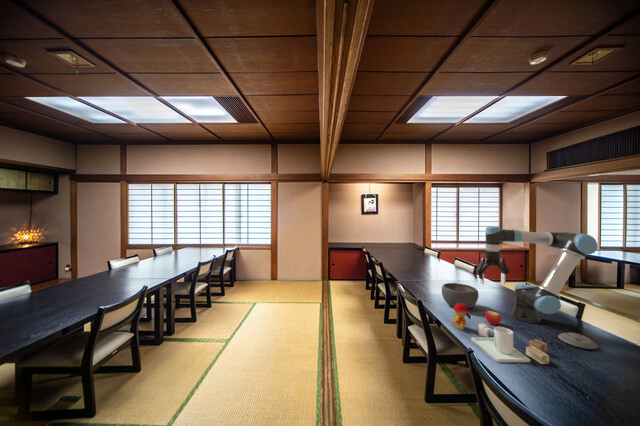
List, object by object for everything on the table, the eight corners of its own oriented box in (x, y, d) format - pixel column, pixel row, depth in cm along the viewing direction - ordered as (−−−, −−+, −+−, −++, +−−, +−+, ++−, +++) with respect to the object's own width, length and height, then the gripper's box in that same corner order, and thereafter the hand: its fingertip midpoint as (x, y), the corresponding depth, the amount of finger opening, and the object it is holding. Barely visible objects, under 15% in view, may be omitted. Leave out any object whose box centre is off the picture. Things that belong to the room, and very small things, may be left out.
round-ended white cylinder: (484, 332, 144) (484, 322, 144) (490, 337, 139) (490, 326, 139) (476, 332, 144) (476, 322, 144) (481, 337, 139) (481, 326, 139)
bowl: (478, 304, 189) (478, 285, 189) (478, 315, 168) (478, 294, 168) (443, 298, 202) (443, 280, 202) (439, 308, 181) (440, 288, 181)
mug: (511, 348, 126) (511, 328, 126) (514, 356, 120) (514, 335, 120) (483, 342, 132) (483, 323, 132) (485, 349, 126) (485, 329, 126)
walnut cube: (536, 348, 128) (536, 339, 128) (547, 353, 123) (547, 344, 123) (529, 349, 127) (529, 340, 127) (540, 355, 122) (540, 345, 122)
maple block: (533, 354, 123) (533, 346, 123) (549, 364, 115) (549, 355, 115) (525, 354, 123) (525, 346, 123) (541, 364, 115) (541, 356, 115)
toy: (472, 332, 144) (472, 307, 144) (456, 331, 146) (456, 306, 146) (465, 324, 155) (465, 301, 155) (450, 322, 157) (450, 299, 157)
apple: (482, 320, 161) (482, 305, 161) (497, 321, 159) (497, 306, 159) (488, 326, 153) (488, 310, 153) (503, 327, 151) (504, 311, 151)
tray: (499, 340, 136) (499, 337, 136) (530, 362, 116) (530, 359, 116) (471, 340, 136) (471, 337, 136) (497, 362, 116) (497, 359, 116)
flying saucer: (591, 354, 123) (591, 343, 123) (553, 340, 136) (553, 331, 136) (602, 347, 130) (602, 337, 130) (564, 334, 143) (564, 325, 143)
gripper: (507, 249, 157) (507, 282, 158) (469, 249, 157) (469, 282, 157) (516, 251, 150) (516, 285, 150) (477, 251, 150) (477, 285, 150)
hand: (492, 283), depth 154 cm, fingers open, 13 cm apart
